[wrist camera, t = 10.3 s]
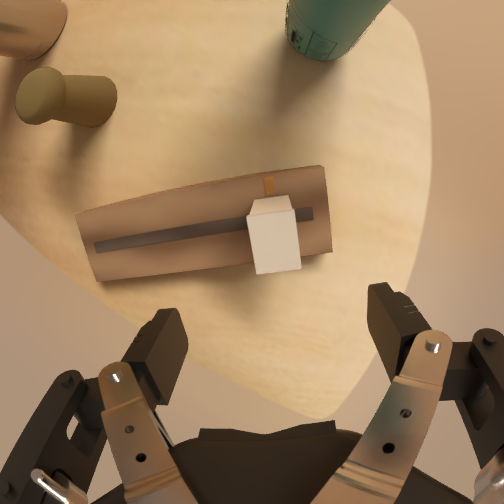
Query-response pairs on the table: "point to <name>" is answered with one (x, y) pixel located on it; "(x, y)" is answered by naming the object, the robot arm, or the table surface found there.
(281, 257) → the fader tab
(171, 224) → the console track
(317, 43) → the beverage bottle
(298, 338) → the table surface
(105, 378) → the robot arm
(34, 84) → the cork
